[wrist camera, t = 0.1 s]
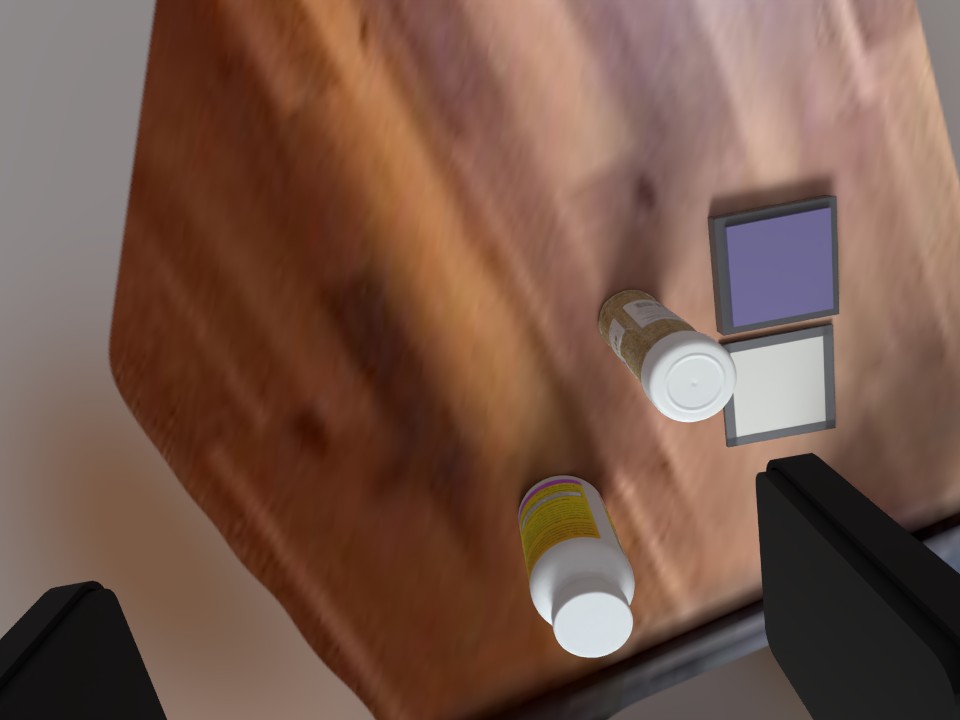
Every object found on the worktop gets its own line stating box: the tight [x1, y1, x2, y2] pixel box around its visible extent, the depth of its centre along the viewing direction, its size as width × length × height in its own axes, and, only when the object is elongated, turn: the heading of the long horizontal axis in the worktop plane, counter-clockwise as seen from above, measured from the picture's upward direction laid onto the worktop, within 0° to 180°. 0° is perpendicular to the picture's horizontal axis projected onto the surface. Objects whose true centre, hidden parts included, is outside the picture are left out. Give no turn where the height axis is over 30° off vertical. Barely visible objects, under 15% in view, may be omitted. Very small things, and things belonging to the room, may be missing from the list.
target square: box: [720, 324, 836, 447], centre depth 48 cm, size 8×8×1 cm
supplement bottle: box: [518, 475, 635, 657], centre depth 44 cm, size 7×7×13 cm
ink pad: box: [708, 195, 839, 336], centre depth 45 cm, size 8×8×2 cm
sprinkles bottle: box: [598, 290, 737, 422], centre depth 40 cm, size 5×5×14 cm
